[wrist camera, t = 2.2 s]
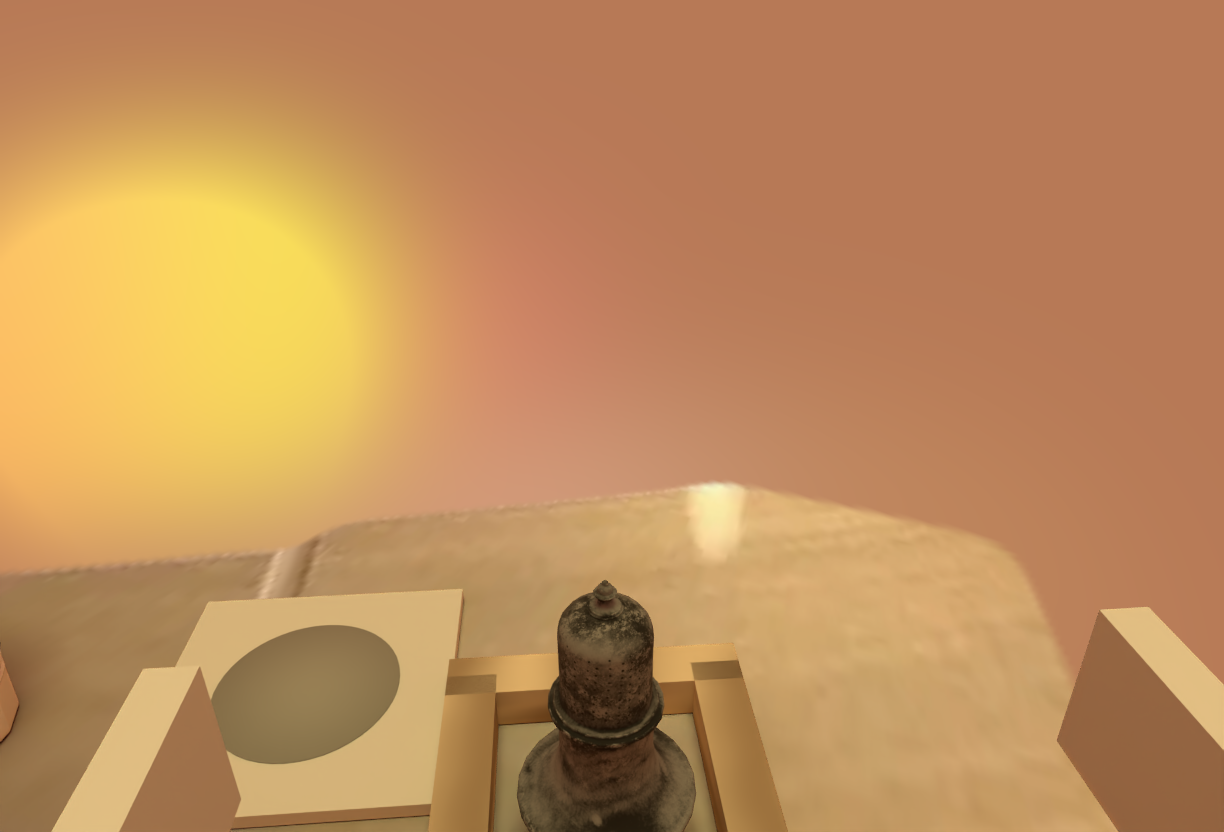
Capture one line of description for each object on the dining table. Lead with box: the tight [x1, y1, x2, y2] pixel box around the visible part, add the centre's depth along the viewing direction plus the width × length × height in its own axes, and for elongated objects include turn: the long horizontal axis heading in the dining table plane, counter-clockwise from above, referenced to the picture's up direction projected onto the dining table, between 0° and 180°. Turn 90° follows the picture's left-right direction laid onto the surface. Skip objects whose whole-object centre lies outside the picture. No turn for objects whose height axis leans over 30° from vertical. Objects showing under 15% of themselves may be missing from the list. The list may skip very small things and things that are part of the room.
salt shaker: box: [517, 580, 696, 832], centre depth 27 cm, size 6×6×12 cm
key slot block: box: [428, 643, 788, 832], centre depth 31 cm, size 12×13×2 cm
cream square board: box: [175, 589, 464, 829], centre depth 36 cm, size 12×12×1 cm
